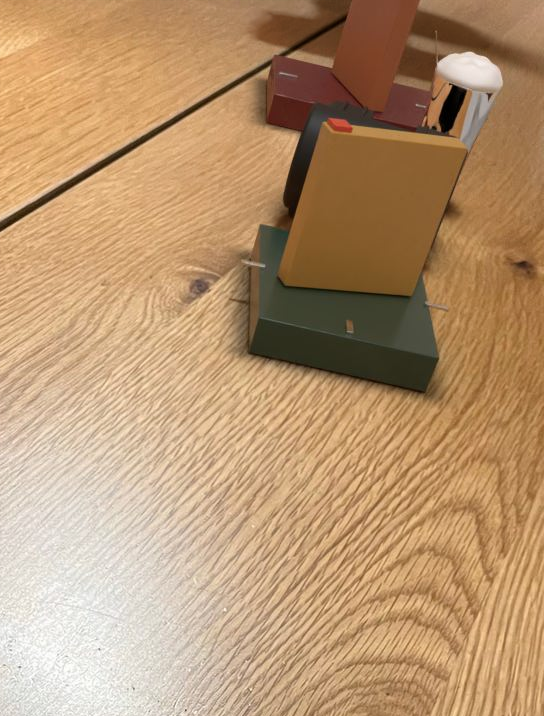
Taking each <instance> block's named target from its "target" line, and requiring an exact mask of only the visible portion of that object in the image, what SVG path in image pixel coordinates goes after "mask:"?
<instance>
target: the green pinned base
mask: <svg viewBox="0 0 544 716" xmlns="http://www.w3.org/2000/svg"><path fill="white" fill-rule="evenodd" d="M289 234H290V230H289V229H285V228H280V227H276V226H271V225H267V224H263V223H260V224H259V225H258V229H257V233H256V236H255V240H254V244H253V247H252V250H251V254H250V260H248V259H243V258H241V259H240V265H242V266H247V267H250V278H249V279H250V281H249V320H248V321H249V322H248V323H249V327H248V328H249V330H248V332H249V333H248V337H249V338H248V353H249V354H254V355H259V356H263V357H267V358H272V359H276V360H280V361H286V362H289V363H295V364H298V365H303V366H308V367H312V368H317V369H320V370H325V371H330V372H335V373H339V374H344V375H347V376H352V377H356V378H359V379H365V380H370V381H374V382H379V383H383V384H387V385H392V386H397V387H400V388H405V389H409V390H415V391H417V392H422V393H426V391H427V390H428V388H429V385H430V382H431V380H432V377H433V375H434V373H435V371H436V368H437V366H438V363H439V361H440V354H439V350H438V343H437V339H436V335H435V330H434V326H433V321H432V316H431V309H436V310H439V311H444V312H449V311H450V307H449V306H448V305H444V304H440V303H435V302H431V301H428V295H427V291H426V285H425V281H424V275H423V270H422V271H421V273H420V276H419V279H418V281H417V284H416V287H415V289H414V292H413V294H412V296H402V295H390V294H378V293H366V292H354V291H341V290H329V289H317V288H305V287H293V286H285V285H284V284H283V282H282V281H281V279H280V278H279V276H278V271H279V267H280V264H281V260H282V257H283V254H284V250H285V247H286V244H287V240H288V237H289ZM430 308H431V309H430Z"/></svg>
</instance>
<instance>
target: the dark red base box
mask: <svg viewBox="0 0 544 716" xmlns="http://www.w3.org/2000/svg"><path fill="white" fill-rule="evenodd" d="M272 56H273V57H272V60H271V63H270V68H269V71H268V75H267V79H266V124H270V125H275V126H279V127H283V128H286V129H292V130H295V131H300V132H302V129H303V127H304V124H305V121H306V119H307V117H308V114H309V112H310V110H311V108H312V106H313V105H314V104H315V103H317V102H318V103H322V104H325V105H329V104H330V103H331V102H332V101H336V100H337V101H341V102H345V101H349V104H351V105H355V106H358V107H361V108H364V107H363V106H362V105H361V104H360V102H359V101H358V100H357V99H356V98H355V97H354V96H353V95H352V94H351V93H350V92H349V91H348V90H347V89H346V87H345V86H344V85H343V84H342V83H341V82H340V81H339V80H338V79H337V78H336V77H335V76H334V75H333V74H332V73H331V70H332V67H329V66H324V65H321V64H316V63H313V62H308V61H305V60H300V59H295V58H291V57H287V56H283V55H278V54H275V53H274V54H273V55H272ZM429 92H430V90H425V89H421V88H416V87H413V86H409V85H406V84H401V83H396V82H393V84H392V87H391V90H390V93H389V96H388V99H387V102H386V105H385V108H384V111H383V112H376V111H374V112H375V113H374V117H373V119H374V120H377V121H380V122H384V123H387V124H390V125H393V126H397V127H400V128H403V129H406V130H410V131H413V132H415V131H416V129H417V127H418V125H420V126H421V122H422V119H423V115H424V111H425V107H426V103H427V99H428V96H429Z"/></svg>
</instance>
